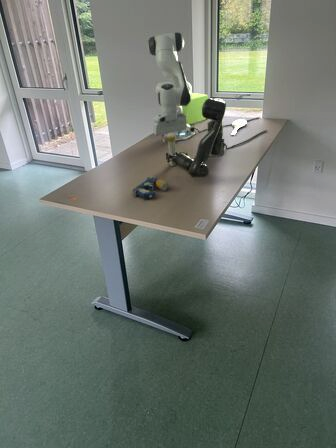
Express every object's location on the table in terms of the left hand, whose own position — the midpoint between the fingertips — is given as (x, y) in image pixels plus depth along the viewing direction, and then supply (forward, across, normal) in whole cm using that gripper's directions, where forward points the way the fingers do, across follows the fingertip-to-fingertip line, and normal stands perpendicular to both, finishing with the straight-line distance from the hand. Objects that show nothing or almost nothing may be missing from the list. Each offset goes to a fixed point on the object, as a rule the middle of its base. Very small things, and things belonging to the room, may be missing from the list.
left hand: (171, 139), depth 195 cm
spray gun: (+15, +26, +26) cm, 40 cm away
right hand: (+9, 0, -3) cm, 9 cm away
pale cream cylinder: (+15, 0, 0) cm, 15 cm away
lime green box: (+15, -59, -84) cm, 104 cm away
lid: (-2, 0, 0) cm, 2 cm away
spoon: (+15, -74, -35) cm, 83 cm away
